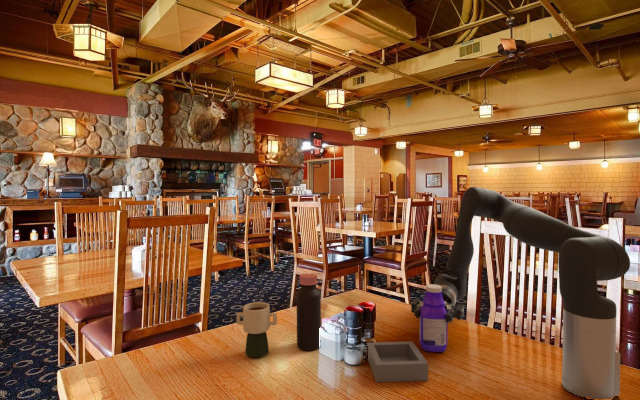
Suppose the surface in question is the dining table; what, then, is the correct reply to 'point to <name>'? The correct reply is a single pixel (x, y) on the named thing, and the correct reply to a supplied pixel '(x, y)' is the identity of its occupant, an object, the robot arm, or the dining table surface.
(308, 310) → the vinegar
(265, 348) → the character mug
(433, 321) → the bottle
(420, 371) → the grey square tray
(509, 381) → the dining table surface
